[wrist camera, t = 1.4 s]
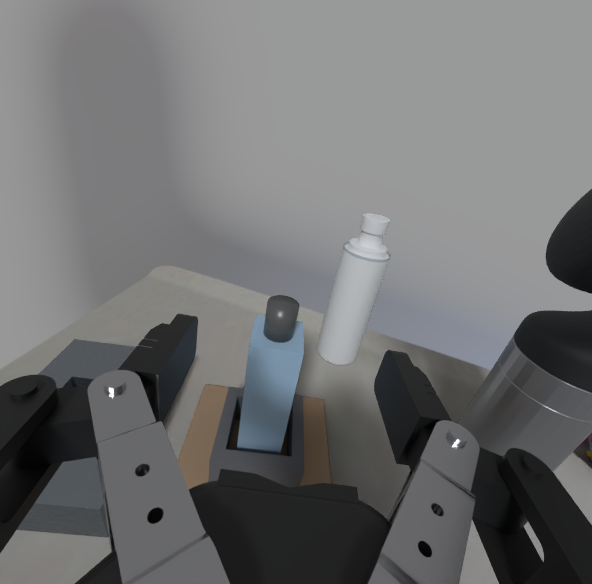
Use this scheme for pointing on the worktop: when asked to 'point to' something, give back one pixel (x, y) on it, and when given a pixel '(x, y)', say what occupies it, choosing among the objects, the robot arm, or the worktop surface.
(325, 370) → the worktop surface
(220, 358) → the worktop surface
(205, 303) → the worktop surface
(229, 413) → the holster
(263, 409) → the plug
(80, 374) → the port block
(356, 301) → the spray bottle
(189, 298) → the worktop surface
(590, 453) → the raw steak
